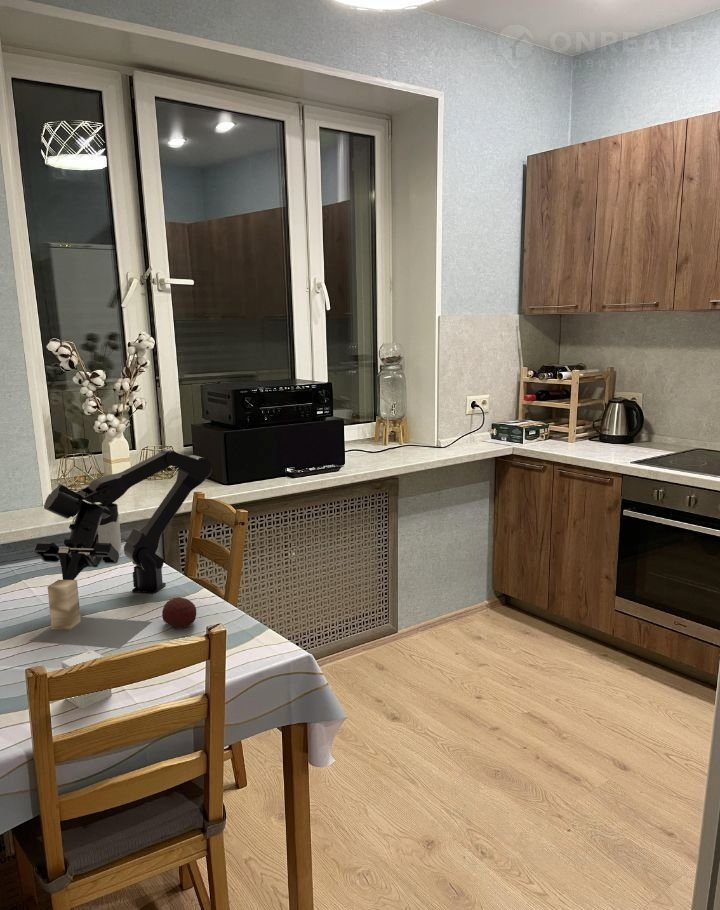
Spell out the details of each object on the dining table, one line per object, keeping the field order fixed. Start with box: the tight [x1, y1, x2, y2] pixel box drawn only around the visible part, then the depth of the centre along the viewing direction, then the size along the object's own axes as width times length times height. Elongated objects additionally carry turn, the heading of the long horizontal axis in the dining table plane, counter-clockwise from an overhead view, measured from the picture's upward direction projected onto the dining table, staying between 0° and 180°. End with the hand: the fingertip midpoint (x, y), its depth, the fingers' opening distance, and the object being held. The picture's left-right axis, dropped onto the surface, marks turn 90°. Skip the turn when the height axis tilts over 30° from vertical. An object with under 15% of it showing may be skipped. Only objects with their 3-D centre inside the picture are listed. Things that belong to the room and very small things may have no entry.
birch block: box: [47, 579, 81, 630], centre depth 156 cm, size 4×4×10 cm
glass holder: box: [71, 502, 124, 555], centre depth 210 cm, size 9×14×15 cm, turn 131°
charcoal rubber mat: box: [29, 616, 152, 649], centre depth 153 cm, size 22×14×1 cm, turn 79°
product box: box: [61, 650, 113, 709], centre depth 125 cm, size 6×6×7 cm
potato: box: [161, 596, 197, 629], centre depth 156 cm, size 7×10×6 cm
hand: (65, 586), depth 159 cm, fingers closed
